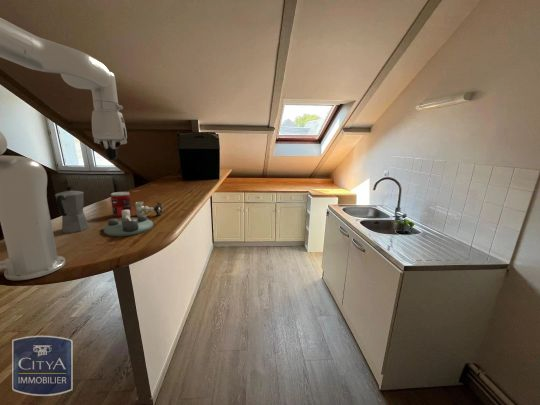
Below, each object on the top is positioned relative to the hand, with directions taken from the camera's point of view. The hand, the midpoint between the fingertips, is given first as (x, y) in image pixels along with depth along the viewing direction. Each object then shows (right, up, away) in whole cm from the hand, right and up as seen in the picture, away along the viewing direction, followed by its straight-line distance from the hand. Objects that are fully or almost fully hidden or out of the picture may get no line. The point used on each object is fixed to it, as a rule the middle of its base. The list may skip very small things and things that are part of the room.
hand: (112, 159), depth 92 cm
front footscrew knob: (+2, -26, +8) cm, 28 cm away
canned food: (-14, -23, +30) cm, 40 cm away
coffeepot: (-21, -28, +8) cm, 35 cm away
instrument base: (0, -27, +11) cm, 29 cm away
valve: (-2, -23, +30) cm, 38 cm away
